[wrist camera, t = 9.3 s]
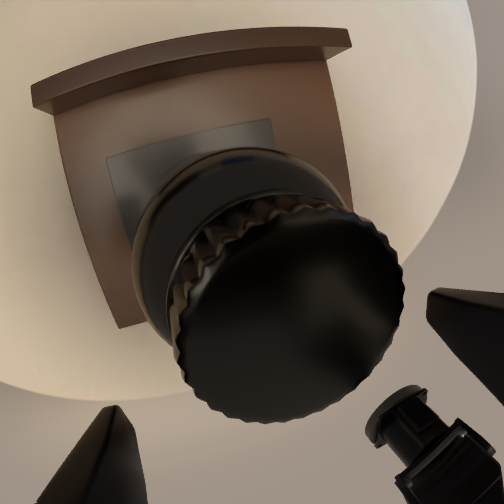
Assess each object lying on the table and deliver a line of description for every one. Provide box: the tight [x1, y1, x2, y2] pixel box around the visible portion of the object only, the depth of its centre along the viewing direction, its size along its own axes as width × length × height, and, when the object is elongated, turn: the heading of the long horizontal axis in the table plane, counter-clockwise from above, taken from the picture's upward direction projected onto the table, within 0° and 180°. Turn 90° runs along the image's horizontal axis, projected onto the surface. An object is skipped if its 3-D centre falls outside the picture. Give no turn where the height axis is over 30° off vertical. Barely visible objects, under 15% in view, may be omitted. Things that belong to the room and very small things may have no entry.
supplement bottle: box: [131, 147, 405, 424], centre depth 11 cm, size 7×7×12 cm
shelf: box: [31, 27, 354, 329], centre depth 15 cm, size 14×16×4 cm
